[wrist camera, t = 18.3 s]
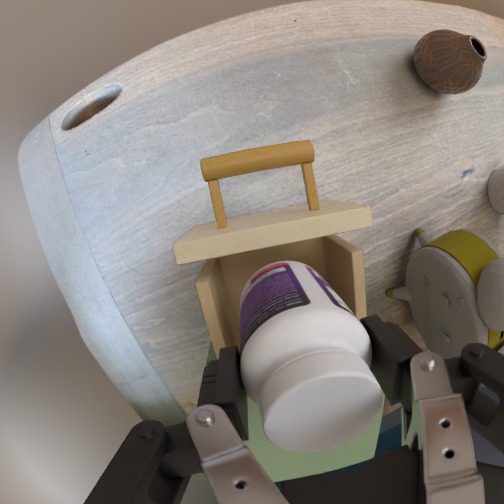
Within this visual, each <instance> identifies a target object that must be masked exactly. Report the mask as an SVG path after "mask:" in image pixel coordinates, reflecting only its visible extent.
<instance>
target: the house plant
mask: <svg viewBox="0 0 504 504" xmlns="http://www.w3.org/2000/svg"><path fill="white" fill-rule="evenodd" d="M488 197H489V201H490V204H491V206H492V207H493V209H495V210H496V211H498V212H501V213H503V214H504V169H500V170H495V171H494V172H493V173H492V174H491V176H490V178H489V180H488Z"/></svg>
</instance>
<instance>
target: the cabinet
mask: <svg viewBox="0 0 504 504" xmlns="http://www.w3.org/2000/svg"><path fill="white" fill-rule="evenodd" d="M212 360H217V357H216V354H215V351H214V347H213V344H212V341H211V343H210V349H209V354H208V359H207V364H208V363H209V362H210V361H212ZM207 364H206V366H207ZM381 390H382V389H381ZM382 395H383V402H382V406H381V409H380V411H379V413H378V415H377V417H376V418H375V420H374V421H373V422H372V424H371V425H370V426H369V427H368V428H367V429H366V430H365V431H364V432H362V433H361V434H360V435H359V436H357V437H356V438H354V439H353V440H351V441H349V442H347V443H345V444H343V445H341V446H338V447H336V448H332V449H329V450H326V451H321V452H315V453H295V452H289V451H285V450H282V449H280V448H278V447H276V446H275V445H273V444H272V443H271V442H270V441H269V440H268V439H267V438H266V436H265V434H264V431H263V426H262V418H261V412H260V407H259V406H258V405H257V404H256V403H254V402H253V401H252V400H251V398H250V397H249V396H248V394H247V401H248V433H249V440H248V441H243V443H244V444H245V446H248V447H249V448H250V450H251V451H252V453H253V454H254V456H255V457H256V459H257V460H258V462H259V463H260V464H261V466H262V467H263V469H264V470H265V472H266V473H267V474H268V476H269V477H270V479H271V480H272V481H273V482H277V481H283V480H289V479H295V478H300V477H305V476H310V475H315V474H319V473H324V472H328V471H332V470H335V469H339V468H343V467H346V466H349V465H353V464H356V463H359V462H362V461H365V460H368V459H371V458H373V457H374V453H375V449H376V444H377V440H378V435H379V429H380V424H381V418H382V412H383V406H384V399H385V394H384V392H383V391H382Z"/></svg>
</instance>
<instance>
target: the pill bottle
mask: <svg viewBox="0 0 504 504" xmlns="http://www.w3.org/2000/svg"><path fill="white" fill-rule="evenodd" d="M371 363H372V346H371V341H370V338H369V335H368V333H367V331H366V330H365V328H364V327H363V325H362V324H361V322H360V321H359V320H358V319H357V317H356V316H355V315H354V314H353V312H352V311H351V310H350V309H349V308H348V306H347V305H346V304H345V303H344V302H343V300H342V299H341V298H340V297H339V296H338V295H337V294H336V292H335V291H334V290H333V289H332V288H331V287H330V285H329V284H328V283H327V282H326V281H325V280H324V279H323V277H322V276H321V275H320V274H319V273H318V272H317V271H315V270H314V269H313V268H311V267H310V266H308V265H306V264H303V263H300V262H296V261H279V262H274V263H271V264H269V265H266V266H264V267H263V268H261V269H259V270H258V271H257V272H256V273H254V274H253V275H252V276H251V278H250V279H249V280H248V282H247V283H246V285H245V287H244V289H243V292H242V295H241V300H240V372H241V380H242V384H243V387H244V389H245V391H246V392H247V394H248V396H249V397H250V398H251V400H252V401H253V402H254V403H256V404H257V405H258V406H259V407H260V412H261V418H262V426H263V431H264V434H265V436H266V438H267V439H268V440H269V441H270V442H271V443H272V444H273V445H275V446H276V447H278V448H280V449H282V450H285V451H289V452H295V453H315V452H321V451H326V450H329V449H332V448H336V447H338V446H341V445H343V444H345V443H347V442H349V441H351V440H353V439H354V438H356V437H357V436H359V435H360V434H361V433H362V432H364V431H365V430H366V429H367V428H368V427H369V426H370V425H371V424H372V422H373V421H374V420H375V418H376V417H377V415H378V413H379V411H380V409H381V406H382V402H383V395H382V390H381V387H380V385H379V383H378V382H377V380H376V378H375V377H374V375H373V373H372V372H371V371H370V367H371Z"/></svg>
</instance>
